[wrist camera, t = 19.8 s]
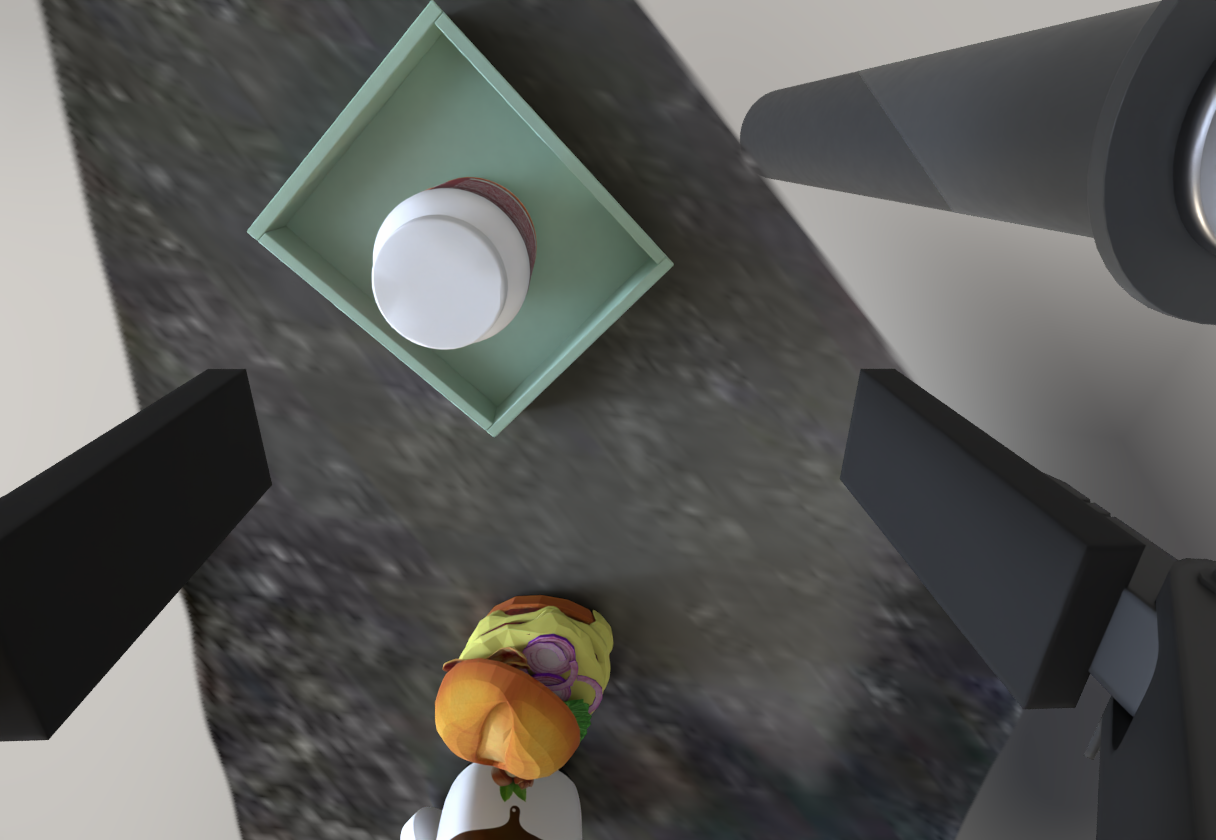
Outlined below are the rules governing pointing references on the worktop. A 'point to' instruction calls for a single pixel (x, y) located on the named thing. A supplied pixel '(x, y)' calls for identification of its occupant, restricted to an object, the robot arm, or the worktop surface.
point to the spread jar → (501, 808)
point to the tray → (439, 152)
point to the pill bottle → (454, 263)
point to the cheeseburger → (525, 685)
